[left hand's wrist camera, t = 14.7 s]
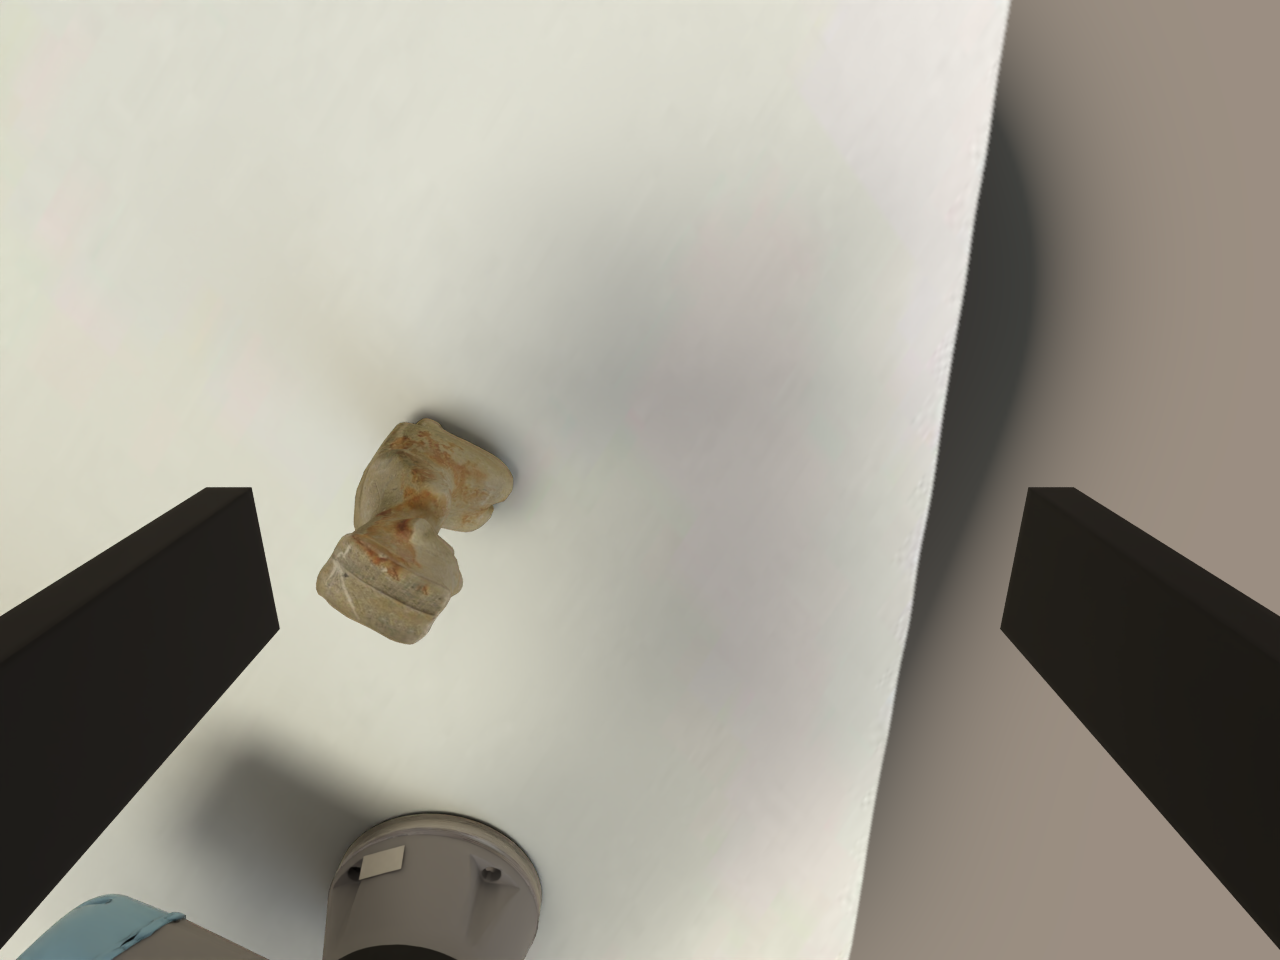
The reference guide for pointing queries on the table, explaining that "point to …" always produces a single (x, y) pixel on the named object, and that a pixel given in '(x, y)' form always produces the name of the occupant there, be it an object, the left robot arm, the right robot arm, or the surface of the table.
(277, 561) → the table surface
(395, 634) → the sculpture
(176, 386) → the table surface
